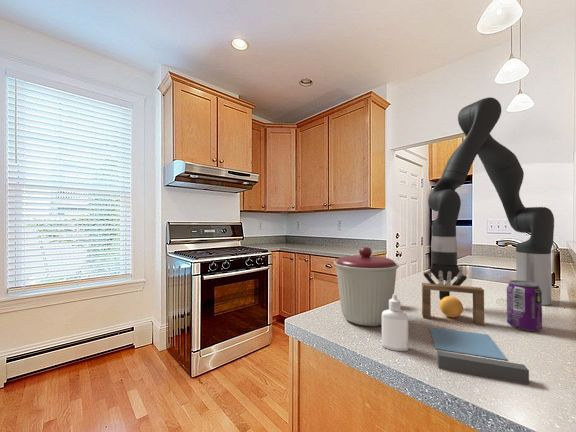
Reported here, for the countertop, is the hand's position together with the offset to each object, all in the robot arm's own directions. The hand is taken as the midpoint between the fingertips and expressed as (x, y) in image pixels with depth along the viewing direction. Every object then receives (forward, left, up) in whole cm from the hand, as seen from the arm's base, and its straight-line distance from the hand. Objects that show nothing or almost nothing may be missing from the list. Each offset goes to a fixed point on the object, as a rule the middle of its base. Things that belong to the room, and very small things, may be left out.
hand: (444, 301), depth 90 cm
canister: (+22, -23, -2) cm, 32 cm away
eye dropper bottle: (+37, -15, -2) cm, 40 cm away
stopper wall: (+42, 0, -2) cm, 42 cm away
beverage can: (+12, +17, -2) cm, 21 cm away
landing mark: (+28, 0, -2) cm, 28 cm away
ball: (+10, 0, +2) cm, 10 cm away
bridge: (+13, 0, -2) cm, 13 cm away
